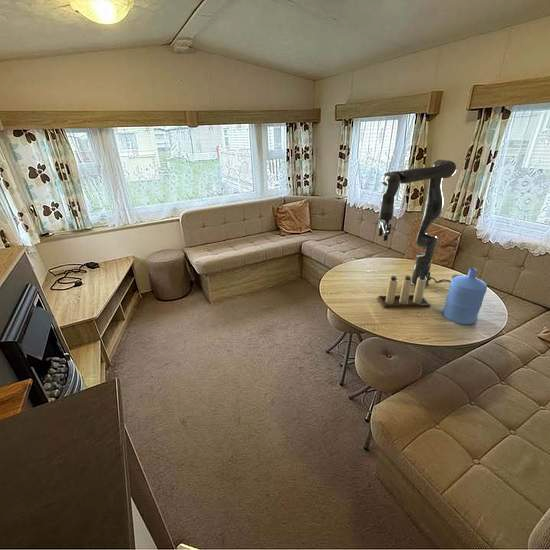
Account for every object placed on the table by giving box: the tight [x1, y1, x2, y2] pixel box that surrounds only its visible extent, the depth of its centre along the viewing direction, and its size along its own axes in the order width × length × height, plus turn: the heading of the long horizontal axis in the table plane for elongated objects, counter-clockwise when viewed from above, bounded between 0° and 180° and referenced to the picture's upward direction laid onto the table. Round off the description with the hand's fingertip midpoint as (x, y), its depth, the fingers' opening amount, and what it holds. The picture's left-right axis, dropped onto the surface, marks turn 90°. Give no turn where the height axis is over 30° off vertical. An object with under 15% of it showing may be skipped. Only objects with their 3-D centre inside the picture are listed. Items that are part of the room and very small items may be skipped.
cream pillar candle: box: [385, 275, 399, 305], centre depth 169 cm, size 5×5×16 cm
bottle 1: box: [399, 275, 412, 304], centre depth 169 cm, size 5×5×16 cm
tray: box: [377, 294, 431, 309], centre depth 172 cm, size 26×11×2 cm, turn 90°
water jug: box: [442, 267, 488, 325], centre depth 153 cm, size 16×16×28 cm
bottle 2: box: [413, 275, 427, 304], centre depth 169 cm, size 5×5×16 cm
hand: (382, 238), depth 173 cm, fingers open, 8 cm apart
